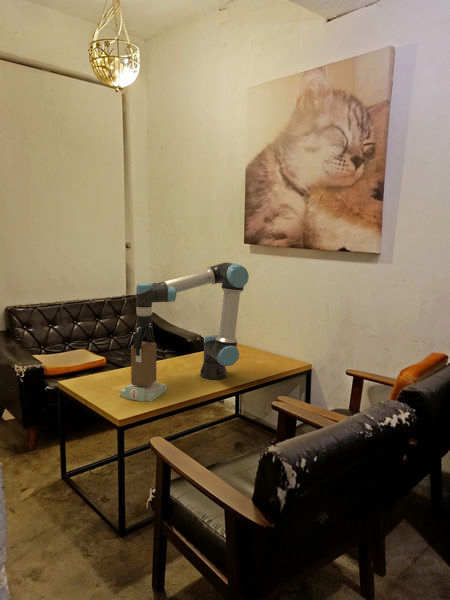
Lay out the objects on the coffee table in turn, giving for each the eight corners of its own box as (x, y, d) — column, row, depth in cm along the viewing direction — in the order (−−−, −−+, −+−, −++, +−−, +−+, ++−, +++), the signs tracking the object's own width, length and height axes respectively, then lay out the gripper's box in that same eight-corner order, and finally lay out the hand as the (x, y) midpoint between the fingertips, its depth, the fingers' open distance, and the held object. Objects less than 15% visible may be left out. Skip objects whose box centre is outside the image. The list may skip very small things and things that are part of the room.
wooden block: (149, 387, 221) (149, 347, 218) (130, 385, 223) (130, 345, 220) (157, 380, 231) (157, 342, 227) (138, 378, 233) (138, 340, 229)
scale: (166, 390, 233) (166, 378, 232) (149, 402, 215) (149, 390, 214) (136, 385, 238) (136, 374, 237) (118, 397, 220) (118, 386, 219)
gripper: (148, 310, 233) (148, 352, 237) (125, 318, 212) (125, 364, 215) (161, 311, 231) (161, 353, 234) (139, 319, 209) (139, 366, 213)
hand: (144, 358), depth 225 cm, fingers open, 10 cm apart
